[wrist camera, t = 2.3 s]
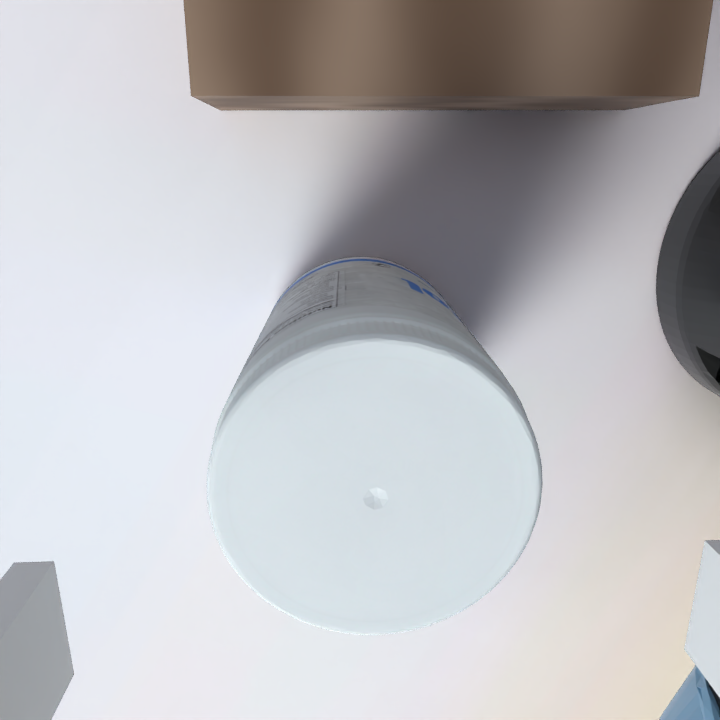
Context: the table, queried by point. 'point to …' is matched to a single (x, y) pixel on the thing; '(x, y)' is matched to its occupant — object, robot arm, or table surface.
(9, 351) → the table surface
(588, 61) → the walnut riser
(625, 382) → the table surface
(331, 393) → the supplement tub
